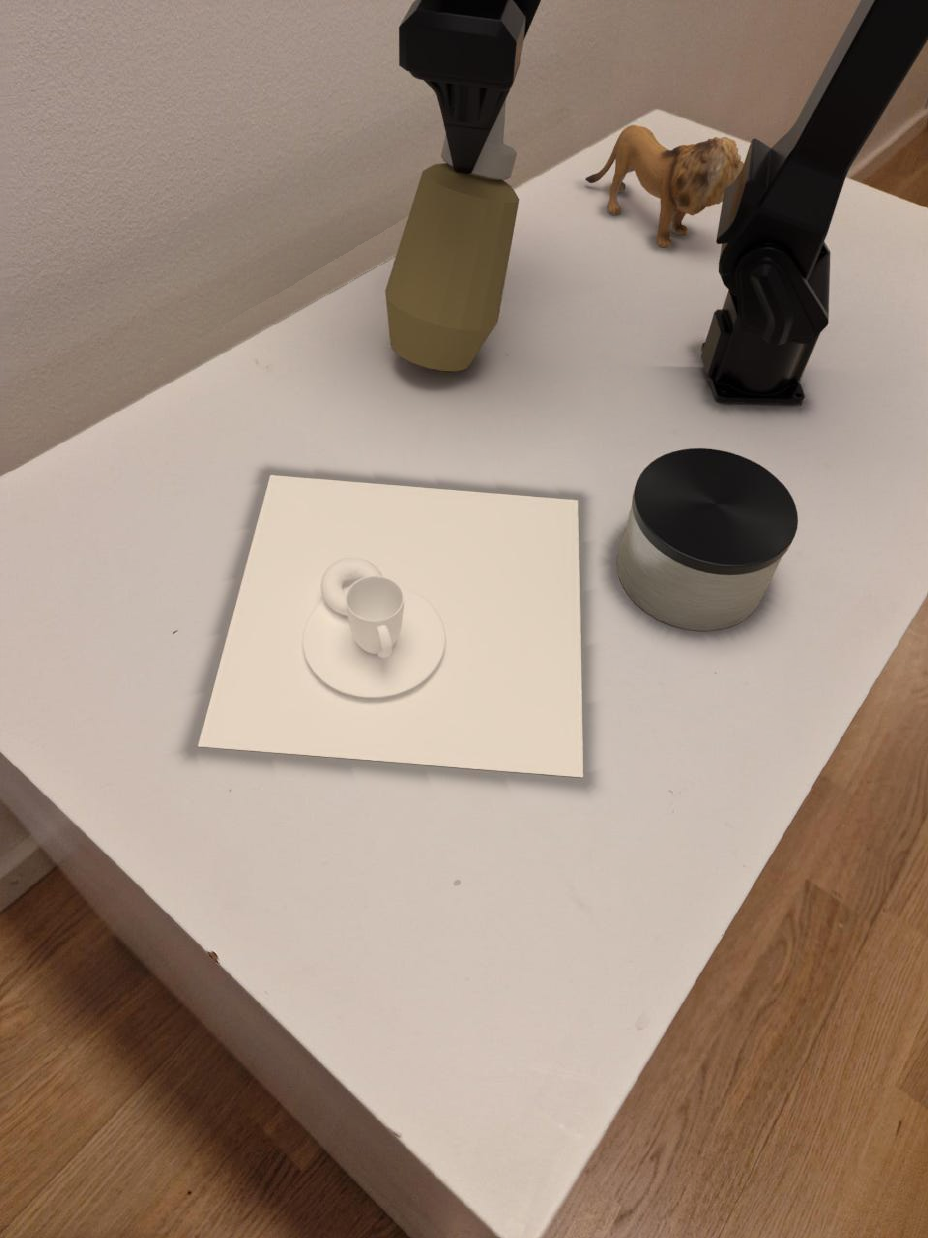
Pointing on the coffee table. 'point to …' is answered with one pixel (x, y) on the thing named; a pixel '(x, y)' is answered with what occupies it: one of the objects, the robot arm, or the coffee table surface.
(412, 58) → the robot arm
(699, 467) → the steel canister
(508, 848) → the coffee table surface
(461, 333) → the squeeze bottle
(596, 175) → the lion figurine
